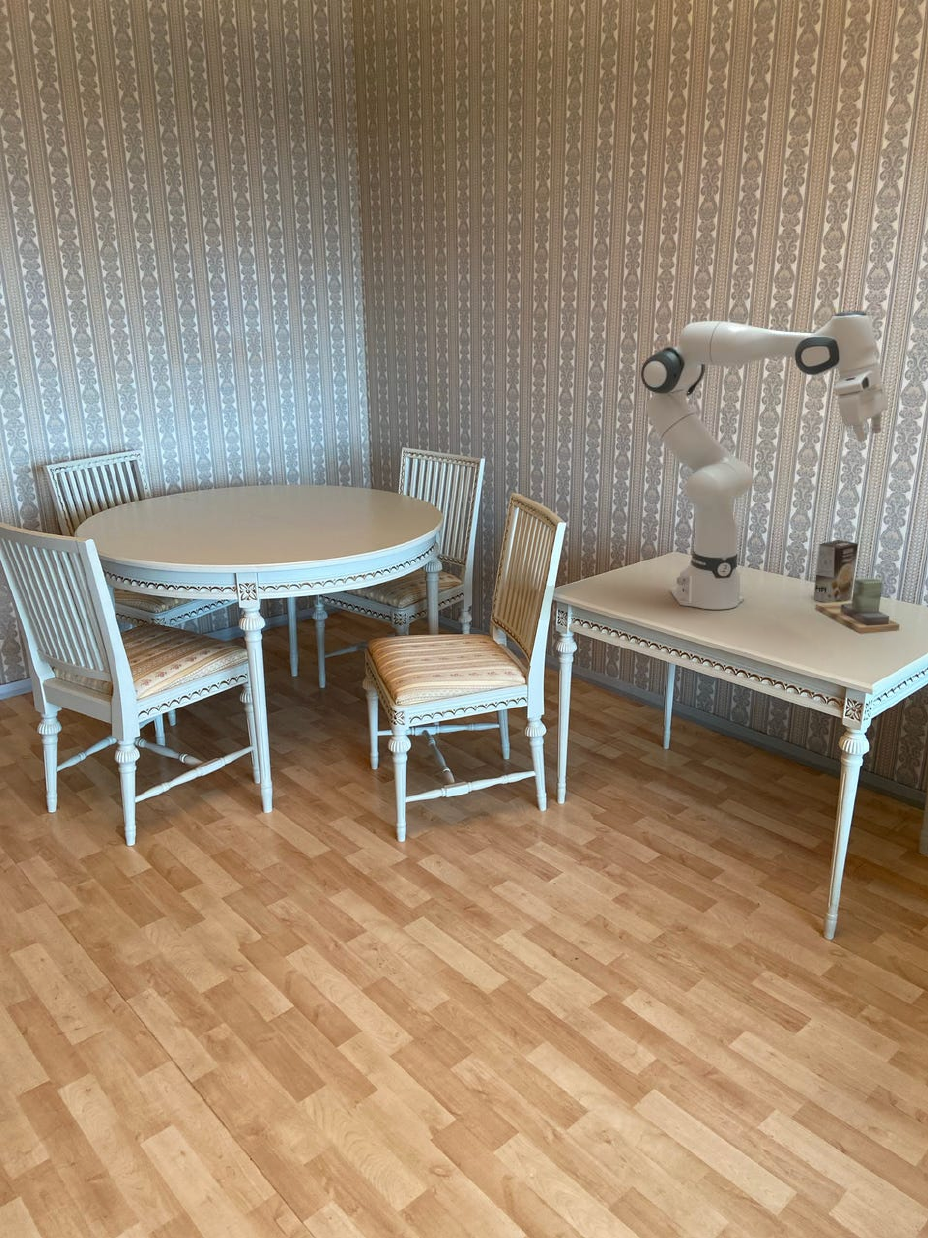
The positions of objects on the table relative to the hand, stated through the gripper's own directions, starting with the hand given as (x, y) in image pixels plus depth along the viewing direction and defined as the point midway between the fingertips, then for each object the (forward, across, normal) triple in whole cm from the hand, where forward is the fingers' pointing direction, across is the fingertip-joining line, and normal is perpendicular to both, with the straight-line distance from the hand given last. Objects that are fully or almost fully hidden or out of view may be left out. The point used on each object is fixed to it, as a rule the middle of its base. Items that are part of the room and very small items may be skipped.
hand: (870, 436), depth 236 cm
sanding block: (+47, -1, -10) cm, 48 cm away
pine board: (+48, -3, -13) cm, 49 cm away
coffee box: (+46, -17, -24) cm, 55 cm away
